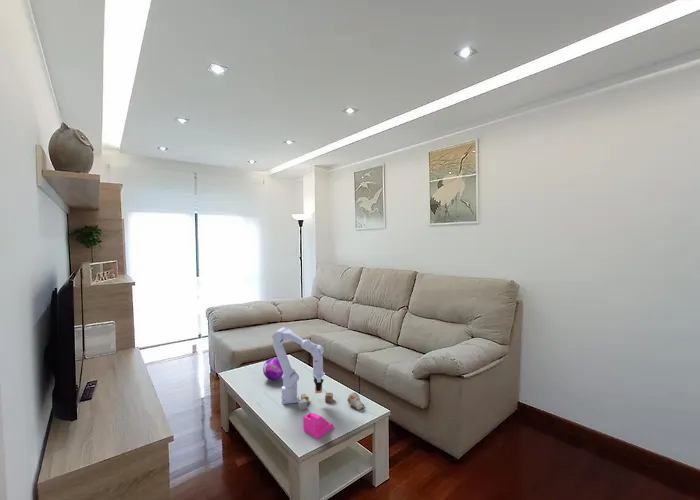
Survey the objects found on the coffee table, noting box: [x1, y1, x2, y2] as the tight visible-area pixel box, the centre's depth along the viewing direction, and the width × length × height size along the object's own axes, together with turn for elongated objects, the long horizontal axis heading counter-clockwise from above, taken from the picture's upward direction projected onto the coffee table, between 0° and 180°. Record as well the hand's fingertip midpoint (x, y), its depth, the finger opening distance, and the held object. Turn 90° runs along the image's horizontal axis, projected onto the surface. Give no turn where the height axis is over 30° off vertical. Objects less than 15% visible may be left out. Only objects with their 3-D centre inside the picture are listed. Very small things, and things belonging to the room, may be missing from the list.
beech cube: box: [300, 392, 310, 404], centre depth 194 cm, size 4×4×4 cm
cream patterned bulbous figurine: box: [346, 392, 366, 411], centre depth 188 cm, size 8×10×10 cm
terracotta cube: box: [314, 384, 323, 394], centre depth 190 cm, size 4×4×4 cm
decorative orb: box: [262, 356, 283, 381], centre depth 224 cm, size 15×15×15 cm
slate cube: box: [297, 398, 308, 411], centre depth 187 cm, size 4×4×4 cm
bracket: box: [302, 411, 335, 439], centre depth 167 cm, size 12×10×10 cm
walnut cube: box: [324, 392, 334, 403], centre depth 195 cm, size 4×4×4 cm
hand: (318, 388), depth 190 cm, fingers closed on terracotta cube, 4 cm apart
